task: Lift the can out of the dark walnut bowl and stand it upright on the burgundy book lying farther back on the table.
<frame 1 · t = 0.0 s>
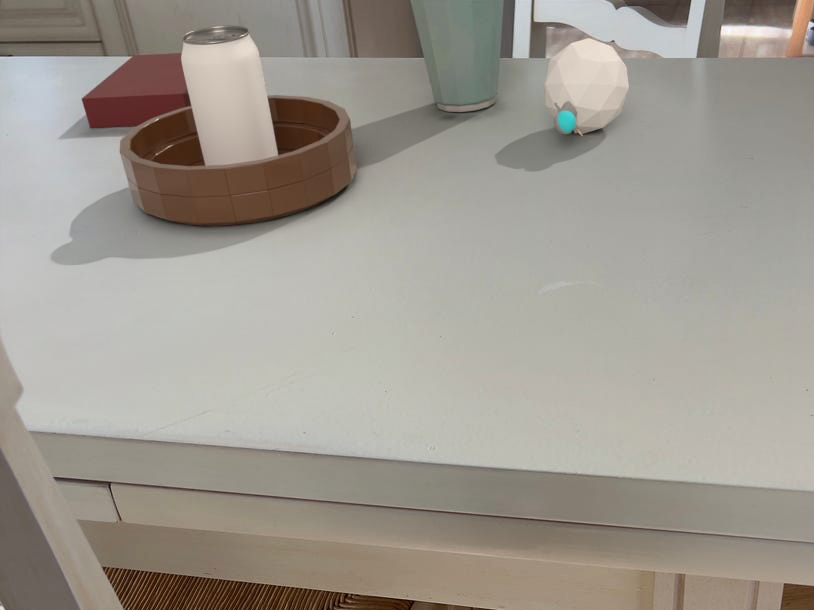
can: (246, 182, 91), resting on bowl
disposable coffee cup: (463, 105, 107), on the table
bowl: (247, 186, 92), on the table
book: (167, 101, 114), on the table
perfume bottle: (579, 137, 97), on the table
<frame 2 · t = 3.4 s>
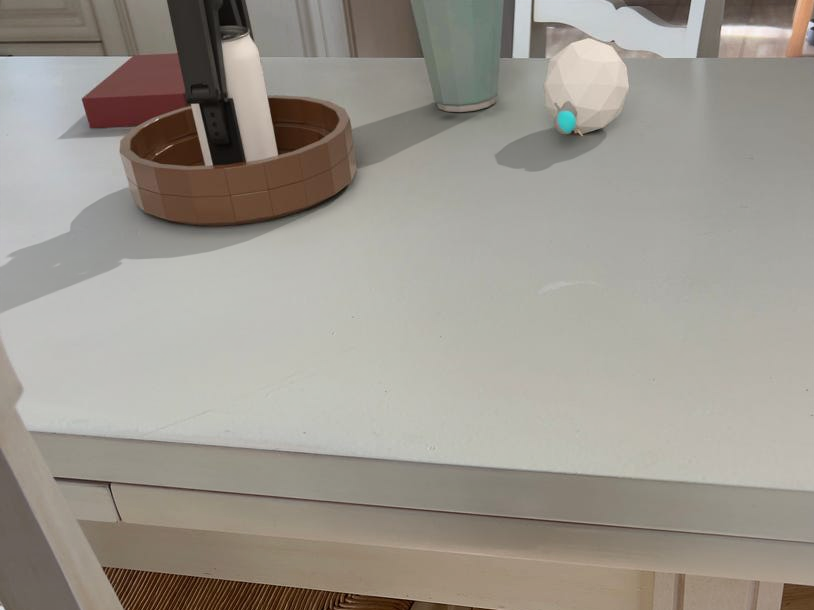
hand: (242, 164, 90), 2 cm above the table, tool pointing down, fingers closed on can, 6 cm apart
can: (246, 182, 91), resting on bowl, touching gripper
everything else where it was.
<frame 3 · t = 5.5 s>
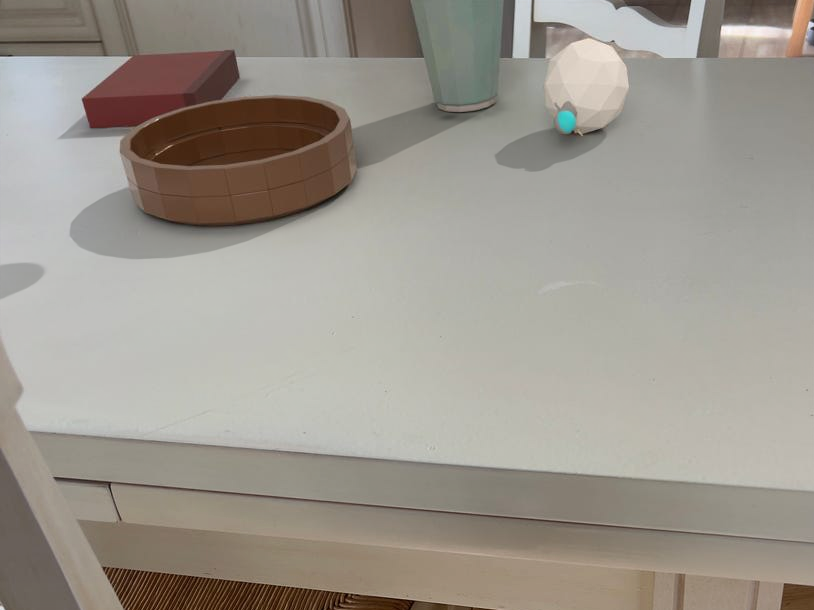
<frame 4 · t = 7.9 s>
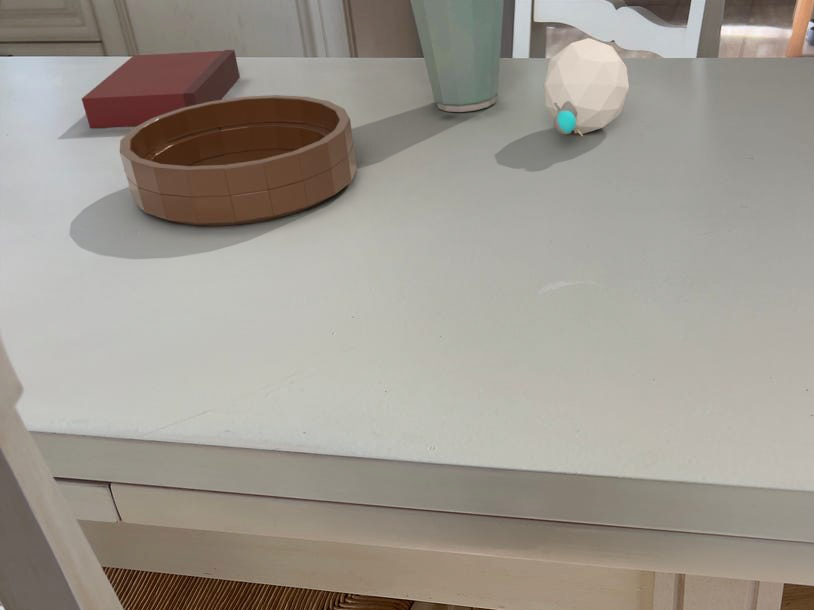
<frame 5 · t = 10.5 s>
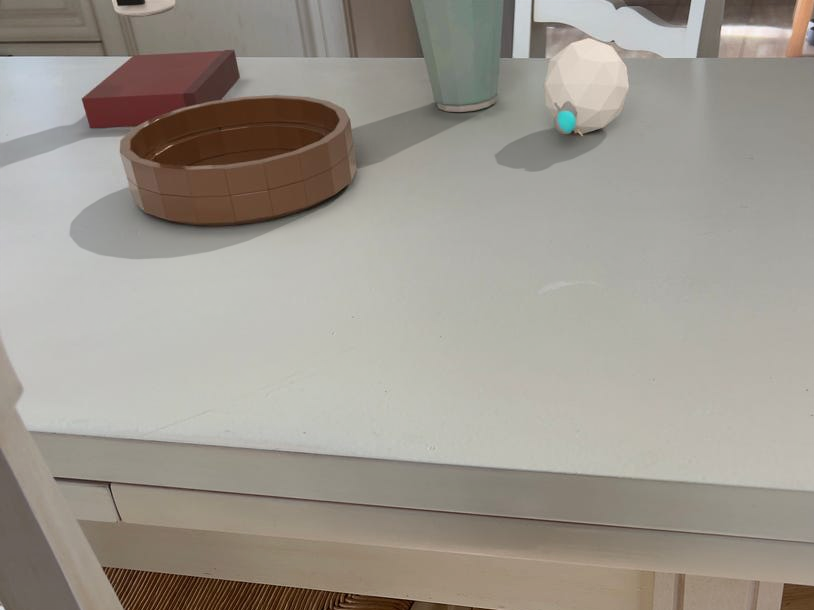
can: (146, 12, 109), point 9 cm above the table, touching gripper
everything else where it was.
when the fingers open (4 cm above the table, at t = 12.4 s): can stays where it is, resting on book.
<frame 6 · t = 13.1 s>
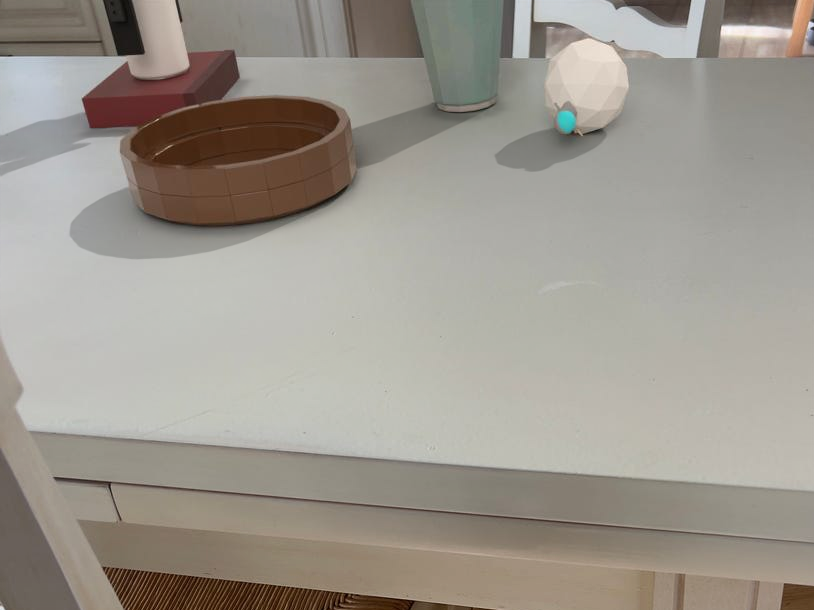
hand: (152, 38, 110), 7 cm above the table, tool pointing down, fingers open, 13 cm apart
can: (161, 74, 113), point 3 cm above the table, touching book
everything else where it was.
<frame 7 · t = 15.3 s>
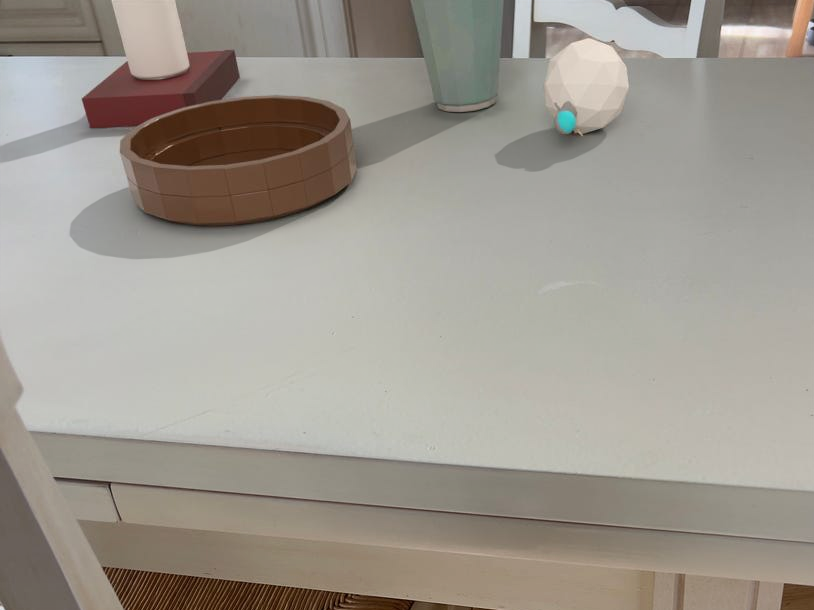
nothing on the table moved.
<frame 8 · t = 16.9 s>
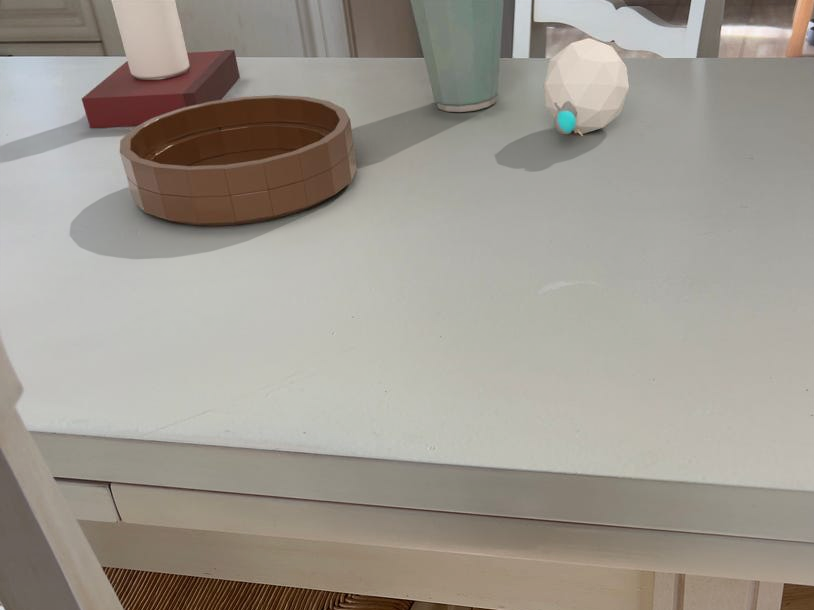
nothing on the table moved.
at the end: can inside the target area on the book (0.0 cm from its centre), point 2.8 cm above the book's base; can tilted 0°; the gripper is holding nothing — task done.
